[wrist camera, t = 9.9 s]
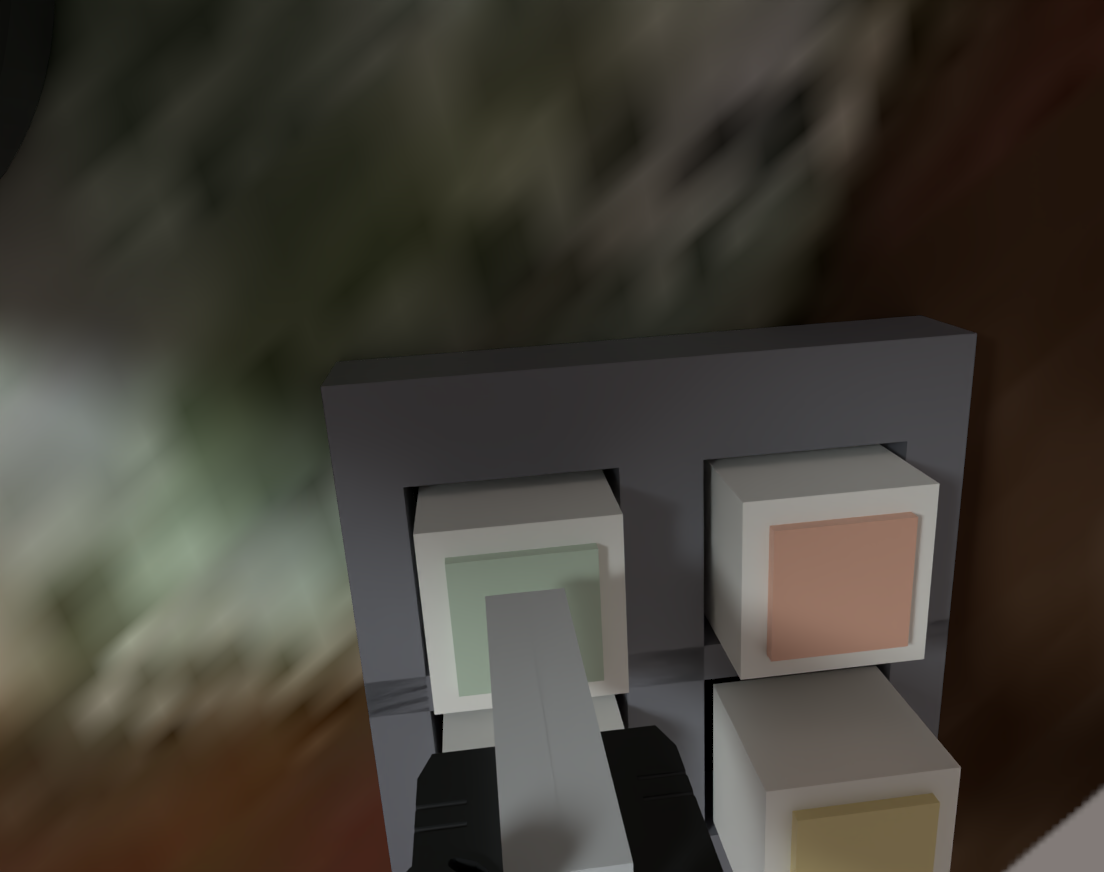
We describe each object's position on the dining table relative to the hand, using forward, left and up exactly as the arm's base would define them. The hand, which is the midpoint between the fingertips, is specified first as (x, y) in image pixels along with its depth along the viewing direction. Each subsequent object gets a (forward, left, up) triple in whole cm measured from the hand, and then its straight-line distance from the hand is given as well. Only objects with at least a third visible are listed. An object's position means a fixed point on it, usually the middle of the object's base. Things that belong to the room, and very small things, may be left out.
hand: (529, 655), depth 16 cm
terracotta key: (0, +7, -6) cm, 9 cm away
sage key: (0, 0, -6) cm, 6 cm away
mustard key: (+6, +7, -4) cm, 11 cm away
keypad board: (+3, +4, -7) cm, 8 cm away
